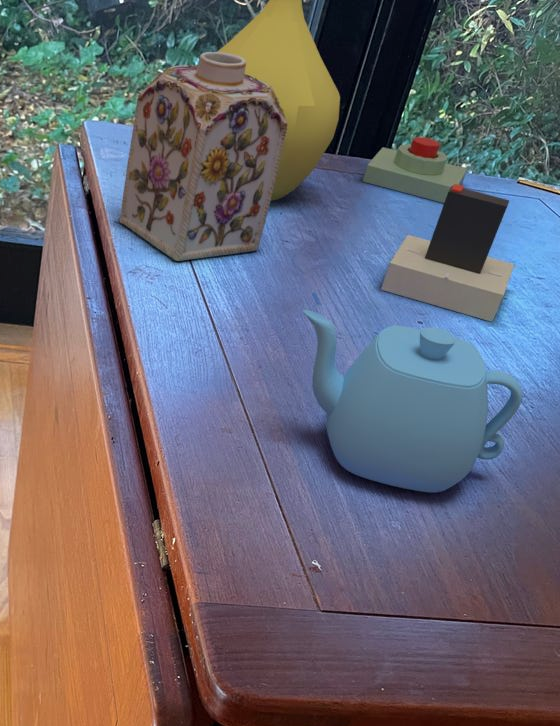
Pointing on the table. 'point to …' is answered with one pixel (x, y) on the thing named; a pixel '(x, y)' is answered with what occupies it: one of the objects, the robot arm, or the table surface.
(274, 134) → the decorative jar
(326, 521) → the table surface
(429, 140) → the power button
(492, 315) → the beige flat block
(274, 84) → the vase
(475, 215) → the dark grey block
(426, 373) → the teapot
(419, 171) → the block
